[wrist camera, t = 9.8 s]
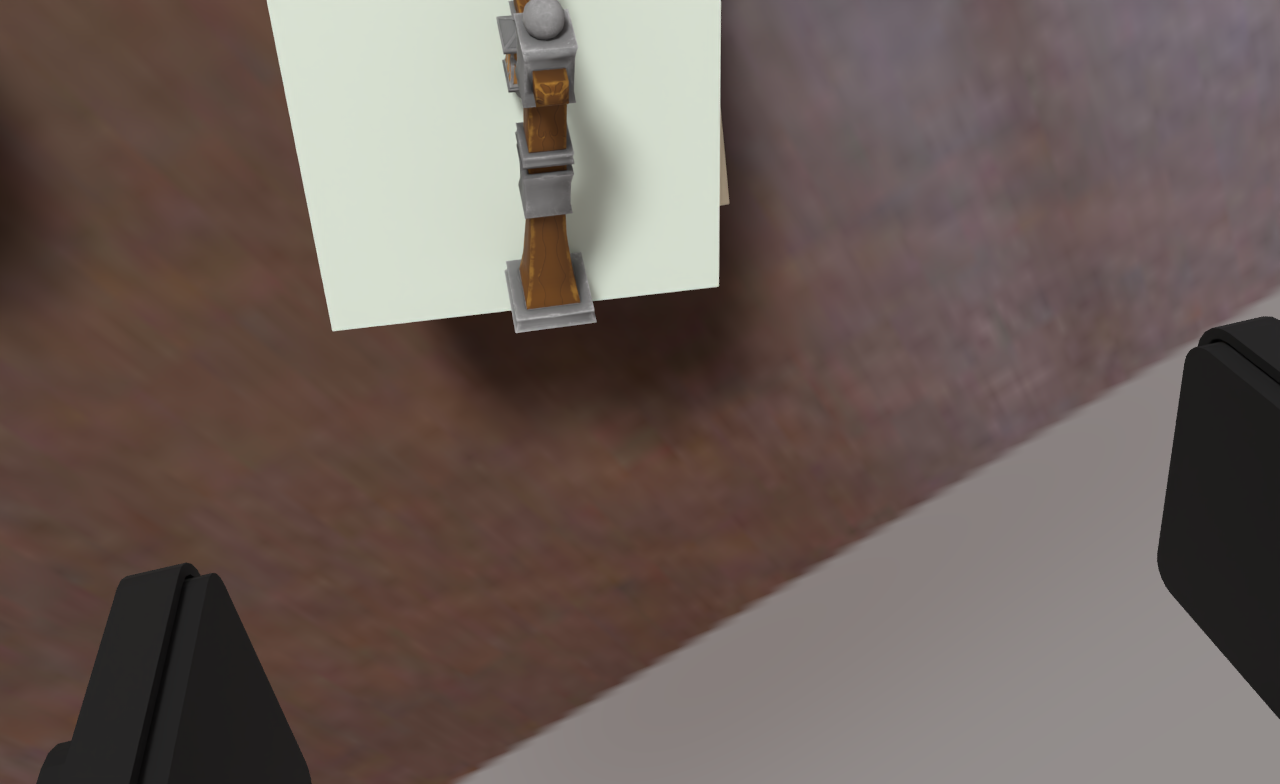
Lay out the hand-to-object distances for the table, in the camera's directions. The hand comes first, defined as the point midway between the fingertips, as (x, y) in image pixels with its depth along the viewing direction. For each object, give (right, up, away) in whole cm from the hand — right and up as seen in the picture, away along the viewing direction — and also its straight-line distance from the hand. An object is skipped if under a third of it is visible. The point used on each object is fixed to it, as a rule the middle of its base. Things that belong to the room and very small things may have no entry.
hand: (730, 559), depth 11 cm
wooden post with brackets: (-3, +7, +13) cm, 16 cm away
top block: (-4, +10, +17) cm, 20 cm away
